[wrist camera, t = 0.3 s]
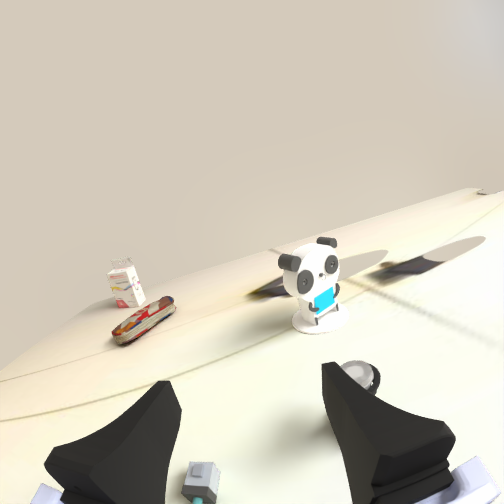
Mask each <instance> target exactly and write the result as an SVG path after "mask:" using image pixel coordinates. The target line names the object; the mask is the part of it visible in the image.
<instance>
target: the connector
mask: <svg viewBox="0 0 504 504" xmlns="http://www.w3.org/2000/svg"><path fill="white" fill-rule="evenodd" d="M219 478H220V471H219V470H218V468H217V467H216V465H215V464H214V463H213V462H190V463H189V467H188V471H187V475H186V479H185V484H184V485H193V486H208V487H209V488H210V489H211V490H212V491H213V492H214V493H215V494H216V496H217V491H218V484H219Z"/></svg>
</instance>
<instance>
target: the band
mask: <svg viewBox="0 0 504 504" xmlns="http://www.w3.org/2000/svg"><path fill="white" fill-rule="evenodd" d="M181 494H183V495H184V496H185V497H186V498H187V499H188V500H189V501H190V502H192V503H193V498H194V497H199V498H202V499H203V502H202V503H204V504H216V497H217V496H216V494H215V493H214V492H213V491H212V490H211V489H210V488H209V487H208V486H193V485H183V488H182V492H181Z"/></svg>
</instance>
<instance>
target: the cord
mask: <svg viewBox="0 0 504 504" xmlns="http://www.w3.org/2000/svg"><path fill="white" fill-rule="evenodd" d="M202 502H203V499H202V498H199V497H194V498H193V503H192V504H202Z"/></svg>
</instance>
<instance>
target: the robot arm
mask: <svg viewBox="0 0 504 504" xmlns="http://www.w3.org/2000/svg"><path fill="white" fill-rule="evenodd" d="M322 396H323V400H324V404H325V408H326V412H327V415H328V418H329V420H330V423H331V425H332V428H333V431H334V433H335V436H336V438H337V441H338V443H339V446H340V449H341V452H342V456H343V460H344V464H345V468H346V472H347V477H348V482H349V487H350V492H351V497H352V502H353V504H491V503H492V502H493V501H494V500H495V499H496V498H497V497H498V496H499V495H500V494H501V491H500V489H499V487H498V486H497V484H496V482H495V481H494V479H493V478H492V476H491V475H490V473H489V472H488V470H487V468H486V467H485V465H484V464H483V462H482V461H481V459H480V458H479V456H475V457H474V458H472V459H471V460H469V461H467V462H465V463H464V464H462V465H460V466H458V467H457V468H455V469H454V470H453V471H452V472H451V473H450V471H449V470H448V467H449V462H448V461H447V457H448V455H449V453H450V452H451V450H452V448H453V446H454V443H455V441H456V438H455V435H454V434H453V433H452V431H451V430H450V428H449V427H448V426H447V425H446V424H445V422H444V421H440V420H434V419H429V418H425V417H421V416H418V415H414V414H411V413H408V412H406V411H403V410H401V409H398V408H396V407H394V406H392V405H390V404H388V403H386V402H384V401H383V400H381V399H379V398H378V397H376V396H375V395H373V394H372V393H370V392H369V391H367V390H366V389H365V388H363V387H362V386H361V385H360V384H359V383H357V382H356V381H355V380H354V379H353V378H351V377H350V376H349V375H348V374H347V373H346V372H345V371H344V370H343V369H342V368H341V367H340V366H339V365H338V364H337V363H336V362H329V363H324V364H322ZM181 412H182V409H181V407H180V405H179V402H178V400H177V397H176V395H175V393H174V390H173V388H172V385H171V383H170V381H158V382H157V383H156V384H154V385H153V386H152V387H151V388H150V389H149V390H148V391H147V392H146V393H145V394H144V395H143V396H142V397H141V398H140V399H139V400H138V401H137V402H136V403H135V404H134V405H132V406H131V407H130V408H129V409H128V410H127V411H125V412H124V413H123V414H122V415H121V416H119V417H118V418H117V419H115V420H114V421H113V422H111V423H110V424H108V425H107V426H105V427H103V428H102V429H100V430H98V431H96V432H94V433H92V434H90V435H88V436H86V437H84V438H82V439H79V440H76V441H74V442H71V443H68V444H64V445H61V446H57V447H54V448H53V450H52V451H51V453H50V454H49V456H48V458H47V459H46V461H45V463H44V466H45V469H46V470H47V472H48V473H49V474H50V475H51V476H52V477H53V478H54V479H55V480H56V481H57V482H58V483H59V484H60V485H61V486H62V487H63V488H64V489H65V490H64V492H63V493H61V492H60V491H58V490H56V489H54V488H52V487H50V486H47V485H45V484H43V483H41V485H40V487H39V488H38V490H37V492H36V494H35V496H34V498H33V499H32V501H31V503H30V504H165V492H166V481H167V474H168V467H169V463H170V459H171V455H172V452H173V448H174V445H175V441H176V438H177V434H178V431H179V427H180V420H181Z"/></svg>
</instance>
